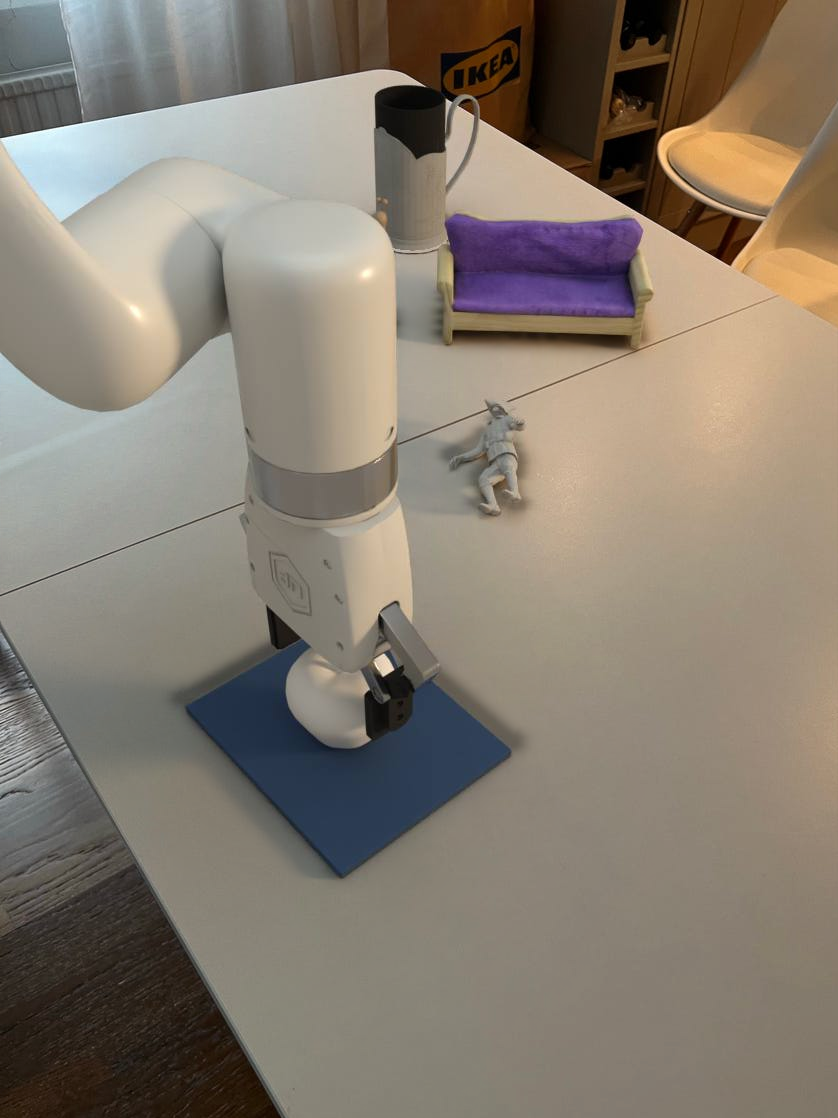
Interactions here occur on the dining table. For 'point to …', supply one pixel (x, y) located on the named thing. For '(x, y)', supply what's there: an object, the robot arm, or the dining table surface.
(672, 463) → the dining table surface
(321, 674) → the plain white apple
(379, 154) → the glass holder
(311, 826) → the blue square board
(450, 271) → the toy sofa
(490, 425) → the soldier figure
